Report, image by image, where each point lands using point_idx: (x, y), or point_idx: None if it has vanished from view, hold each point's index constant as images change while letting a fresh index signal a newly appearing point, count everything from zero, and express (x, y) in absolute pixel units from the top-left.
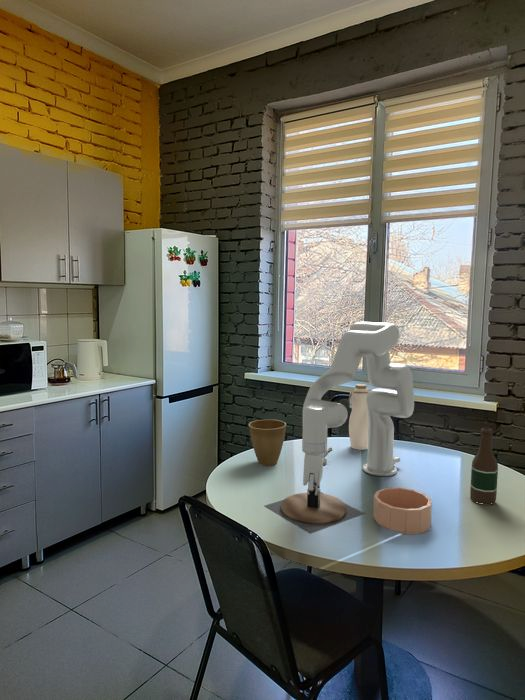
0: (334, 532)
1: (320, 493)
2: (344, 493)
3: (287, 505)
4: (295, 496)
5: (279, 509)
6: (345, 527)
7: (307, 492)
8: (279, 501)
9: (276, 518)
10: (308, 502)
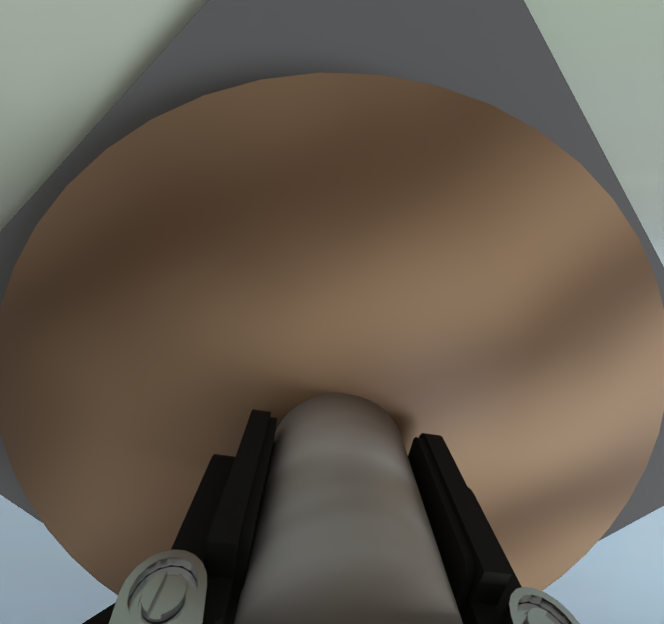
0: (9, 534)
1: (620, 509)
2: (649, 610)
3: (317, 168)
4: (587, 269)
5: (301, 65)
6: (108, 591)
7: (323, 531)
8: (539, 57)
9: (113, 40)
10: (241, 451)
